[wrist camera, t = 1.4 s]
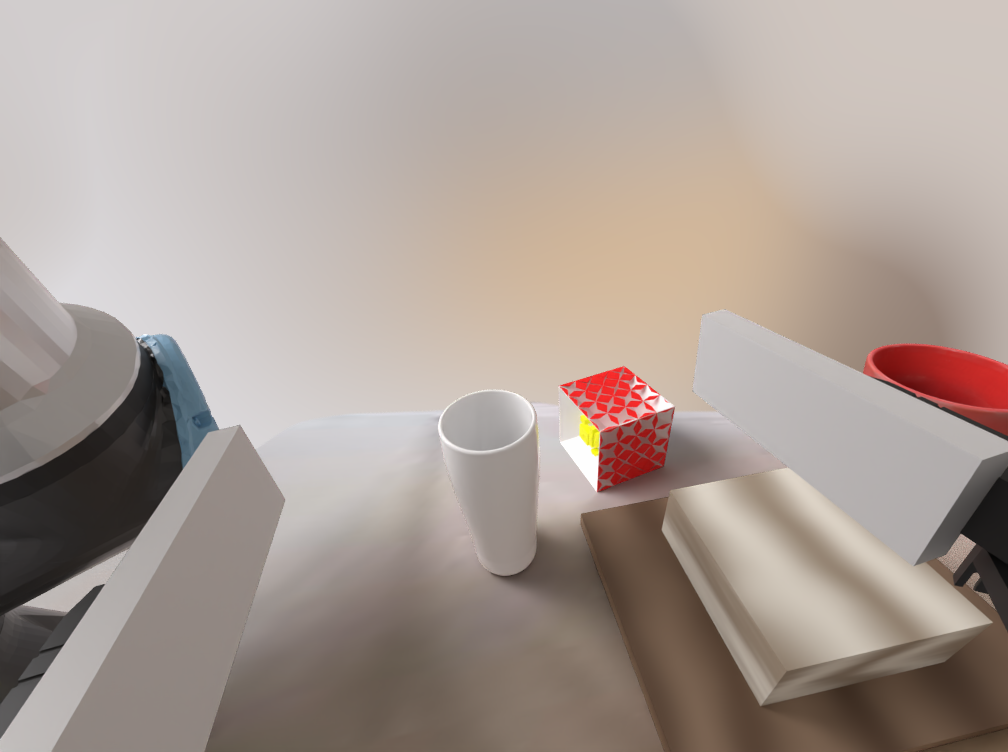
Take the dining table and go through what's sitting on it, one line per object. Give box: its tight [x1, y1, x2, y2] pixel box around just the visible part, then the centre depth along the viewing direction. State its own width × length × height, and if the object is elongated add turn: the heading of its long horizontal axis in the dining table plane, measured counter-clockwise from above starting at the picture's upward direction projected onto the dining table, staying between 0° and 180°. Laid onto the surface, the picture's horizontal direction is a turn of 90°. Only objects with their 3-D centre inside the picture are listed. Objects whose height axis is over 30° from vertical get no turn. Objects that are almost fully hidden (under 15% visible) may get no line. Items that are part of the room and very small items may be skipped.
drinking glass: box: [438, 390, 540, 576], centre depth 30 cm, size 7×7×15 cm
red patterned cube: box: [559, 366, 675, 492], centre depth 41 cm, size 8×8×8 cm
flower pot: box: [863, 344, 1008, 436], centre depth 37 cm, size 11×11×10 cm
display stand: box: [581, 467, 1008, 752], centre depth 28 cm, size 24×18×6 cm
